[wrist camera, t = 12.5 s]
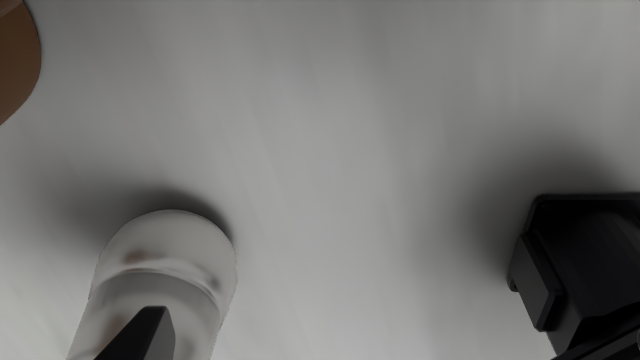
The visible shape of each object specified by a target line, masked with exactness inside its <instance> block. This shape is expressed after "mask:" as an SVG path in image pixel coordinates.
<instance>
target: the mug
mask: <svg viewBox="0 0 640 360" xmlns="http://www.w3.org/2000/svg"><path fill="white" fill-rule="evenodd" d="M22 1H23V0H0V125H2V124H3V123H4V122H5V121H6V120H7V119H8V118H9V117H10V116H11V115H13V114H14V113H15V112H16V111H17V110H18V109H19V108H20V107H21V106H22V105H23V103H24V102H25V101H26V100H27V99H28V97H29V96H30V94H31V93H32V91H33V89H34V87H35V85H36V83H37V80H38V77H39V73H40V68H41V51H40V44H39V40H38V35H37V31H36V29H35V26H34V23H33V20H32V18H31V16H30V14H29V12H28V10H27V8H26V7H25V5H24V3H23V2H22Z"/></svg>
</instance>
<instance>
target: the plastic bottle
mask: <svg viewBox="0 0 640 360" xmlns="http://www.w3.org/2000/svg"><path fill="white" fill-rule="evenodd" d="M236 286H237V264H236V254H235V251H234V249H233V246H232V244H231V243H230V241H229V240H228V238H227V237H226V236H225V234H224V233H223V232H222V231H221V230H220V229H219V228H218V227H217V226H216V225H215V224H214V223H212V222H211V221H209V220H208V219H206V218H204V217H202V216H200V215H198V214H195V213H191V212H188V211H182V210H160V211H154V212H151V213H148V214H145V215H142V216H139V217H136V218H134V219H132V220H131V221H129V222H127V223H126V224H125V225H124V226H123V227H122V228H121V229H120V230H119V231H118V232H117V233H116V234H115V235H114V237H113V238H112V239H111V240H110V242H109V243H108V244H107V245H106V246H105V248H104V250H103V251H102V253H101V255H100V257H99V260H98V263H97V266H96V269H95V272H94V276H93V279H92V283H91V288H90V293H89V298H88V303H87V306H86V308H85V311H84V313H83V316H82V319H81V321H80V324H79V327H78V329H77V332H76V335H75V337H74V340H73V343H72V345H71V348H70V350H69V353H68V356H67V358H66V360H93V359H94V358H95V357H96V356H97V355H98V354H99V353H100V352H101V351H102V350H103V349H104V348H105V347H106V345H107V344H108V343H109V342H110V341H111V340H112V339H113V338H114V337H115V336H116V335H117V334H118V333H119V332H120V331H121V330H122V329H123V327H124V326H125V325H126V324H127V323H128V322H129V321H130V320H131V319H132V318H133V317H134V316H135V315H136V314H137V313H138V312H139V311H140V310H141V309H142V308H143V307H145V306H149V305H163V306H166V307H167V308H168V309H169V312H170V316H171V319H172V323H173V327H174V330H175V335H176V343H175V350H174V356H173V360H210V359H211V355H212V352H213V349H214V345H215V342H216V339H217V335H218V332H219V330H220V328H221V326H222V323H223V321H224V319H225V317H226V315H227V313H228V311H229V308H230V305H231V302H232V299H233V297H234V294H235V291H236Z"/></svg>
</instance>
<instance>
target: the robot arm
mask: <svg viewBox="0 0 640 360" xmlns="http://www.w3.org/2000/svg"><path fill="white" fill-rule="evenodd" d="M544 204H547V205H545V206H543V207H541V206H542V205H544ZM509 271H510V274H509V277H508V280H507V283H508V286H509V288H510V290H511V291H513V292H519V294H520V296H521V298H522V300H523V303H524V305H525V307H526V310H527V312H528V314H529V317H530V319H531V321H532V323H533V326H534V328H535V329H536V330H537V331H538V332H546V333H547V336H548V338H549V340H550V342H551V344H552V347H553V349H554V351H555V353H556V355H557V356H556V357H554V358H552V359H550V360H640V195H541V196H538V197H537V198H536V199H534V201H533V203H532V206H531V209H530V212H529V215H528V218H527V221H526V225H525V228H524V231H523V232H522V233H521V234H520V235H519V238H518V241H517V244H516V247H515V250H514V253H513V256H512V259H511V263H510V266H509ZM175 343H176V335H175V330H174V327H173V323H172V319H171V316H170V312H169V309H168V308H167V307H166V306H163V305H149V306H145V307H143V308H142V309H141V310H140V311H139V312H138V313H137V314H136V315H135V316H134V317H133V318H132V319H131V320H130V321H129V322H128V323H127V324H126V325H125V326H124V327H123V329H122V330H121V331H120V332H119V333H118V334H117V335H116V336H115V337H114V338H113V339H112V340H111V341H110V342H109V343H108V344H107V345H106V347H105V348H104V349H103V350H102V351H101V352H100V353H99V354H98V355H97V356H96V357H95V358H94V359H93V360H173V356H174V350H175Z"/></svg>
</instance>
